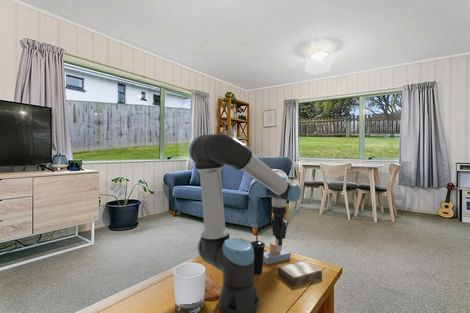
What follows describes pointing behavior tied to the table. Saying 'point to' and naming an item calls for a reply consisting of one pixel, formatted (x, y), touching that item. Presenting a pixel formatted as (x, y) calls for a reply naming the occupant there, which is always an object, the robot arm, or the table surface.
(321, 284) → the table surface
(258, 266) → the black tall container
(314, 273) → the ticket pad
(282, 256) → the blue base with cube
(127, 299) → the table surface
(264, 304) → the table surface
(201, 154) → the robot arm
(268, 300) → the table surface
